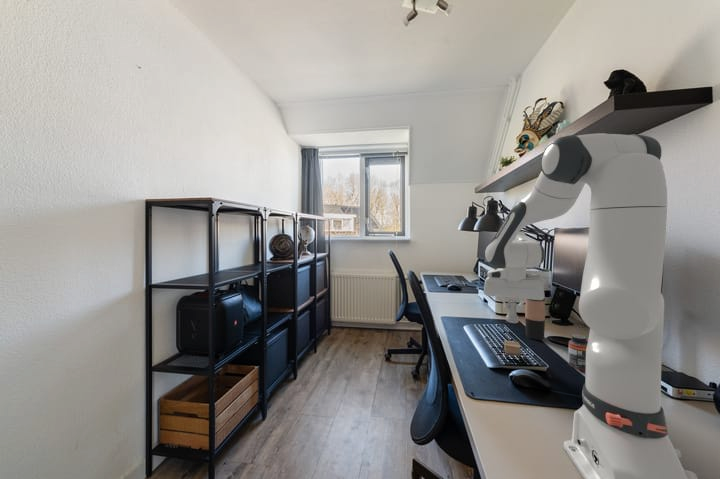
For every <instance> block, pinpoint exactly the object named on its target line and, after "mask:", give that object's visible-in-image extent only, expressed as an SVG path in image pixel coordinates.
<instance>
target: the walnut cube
mask: <svg viewBox="0 0 720 479" xmlns="http://www.w3.org/2000/svg"><path fill="white" fill-rule="evenodd" d="M503 342H504V343H503V344H504V345H503V346H504V348H503V351H504V350H505V354H510V355H516V356H521V354H522V353H521V351H522V350H521V348H522V347H521V345H520V344H521V343H520V342H518V341H512V340H503Z"/></svg>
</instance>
